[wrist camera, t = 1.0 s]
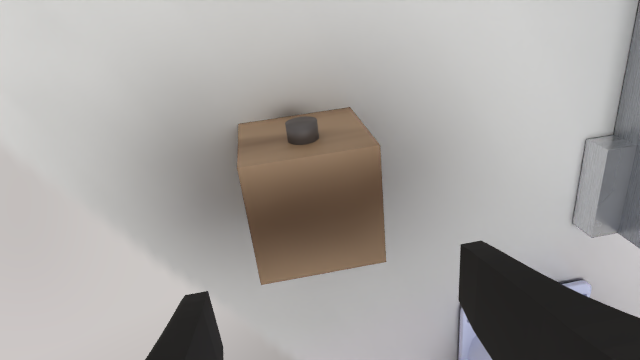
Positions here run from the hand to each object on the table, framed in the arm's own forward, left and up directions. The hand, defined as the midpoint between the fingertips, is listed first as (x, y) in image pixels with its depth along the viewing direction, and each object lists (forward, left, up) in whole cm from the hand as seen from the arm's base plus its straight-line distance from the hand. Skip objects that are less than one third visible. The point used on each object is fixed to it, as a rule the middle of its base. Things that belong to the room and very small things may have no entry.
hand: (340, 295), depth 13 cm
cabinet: (0, 0, -9) cm, 9 cm away
